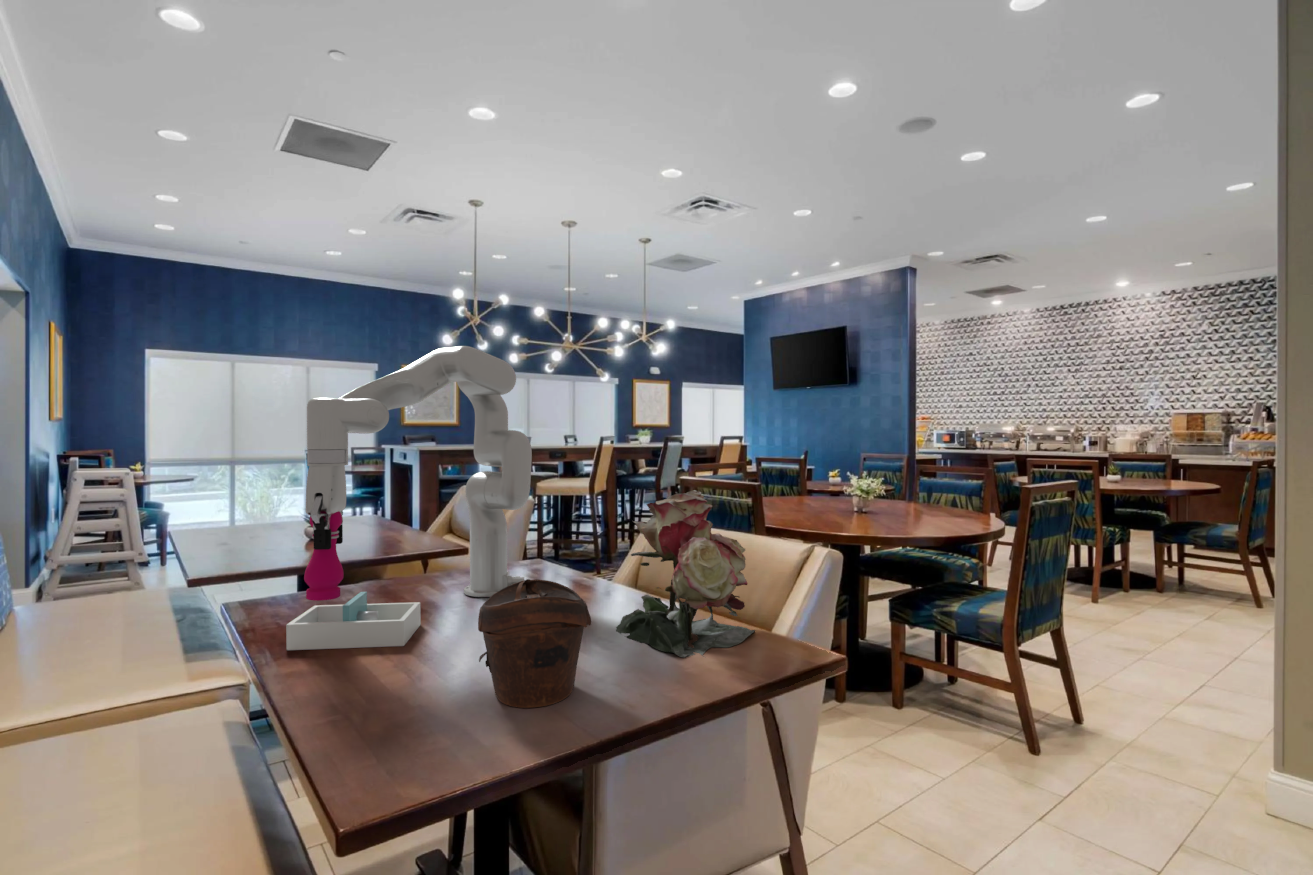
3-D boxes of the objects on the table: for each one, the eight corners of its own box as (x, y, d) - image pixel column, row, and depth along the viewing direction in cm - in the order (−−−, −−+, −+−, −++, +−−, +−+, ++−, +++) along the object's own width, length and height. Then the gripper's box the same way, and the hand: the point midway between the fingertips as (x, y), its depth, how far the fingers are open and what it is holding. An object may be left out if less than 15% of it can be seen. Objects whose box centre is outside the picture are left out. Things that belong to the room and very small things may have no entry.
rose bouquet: (695, 667, 120) (695, 501, 120) (602, 629, 143) (602, 489, 142) (786, 638, 137) (787, 492, 136) (690, 608, 159) (690, 483, 159)
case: (536, 661, 123) (534, 565, 122) (615, 689, 110) (614, 582, 109) (451, 693, 109) (449, 585, 108) (531, 729, 96) (529, 607, 96)
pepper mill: (313, 602, 131) (317, 501, 131) (296, 597, 135) (300, 499, 136) (349, 597, 137) (353, 499, 137) (332, 592, 141) (335, 497, 142)
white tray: (420, 624, 146) (420, 602, 146) (403, 645, 132) (403, 620, 132) (314, 628, 143) (314, 605, 143) (286, 650, 129) (286, 624, 129)
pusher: (384, 622, 143) (384, 591, 143) (368, 638, 132) (367, 604, 132) (361, 623, 143) (360, 591, 143) (342, 639, 132) (342, 605, 132)
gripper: (324, 456, 144) (325, 539, 145) (290, 460, 127) (291, 554, 127) (360, 456, 145) (361, 539, 145) (331, 460, 128) (332, 553, 128)
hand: (328, 545), depth 136 cm, fingers closed on pepper mill, 5 cm apart
